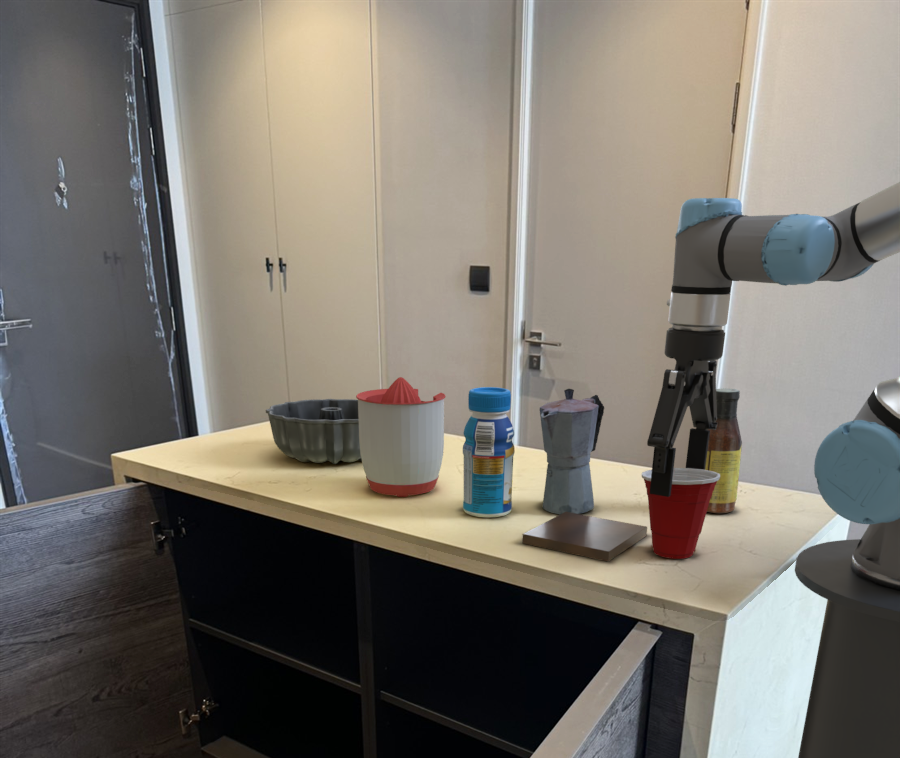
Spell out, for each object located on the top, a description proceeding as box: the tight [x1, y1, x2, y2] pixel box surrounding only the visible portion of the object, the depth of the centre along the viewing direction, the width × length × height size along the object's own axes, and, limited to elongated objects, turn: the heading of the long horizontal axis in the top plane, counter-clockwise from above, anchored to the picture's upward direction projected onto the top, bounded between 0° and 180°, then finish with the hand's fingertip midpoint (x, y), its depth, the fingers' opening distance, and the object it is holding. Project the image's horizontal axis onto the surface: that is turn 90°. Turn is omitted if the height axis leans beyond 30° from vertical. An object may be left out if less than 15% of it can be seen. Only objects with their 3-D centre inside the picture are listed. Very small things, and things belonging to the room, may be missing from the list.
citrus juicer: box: [355, 376, 446, 498], centre depth 154 cm, size 16×17×20 cm
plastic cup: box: [641, 467, 720, 560], centre depth 123 cm, size 11×11×12 cm
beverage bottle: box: [462, 386, 515, 519], centre depth 140 cm, size 8×8×20 cm
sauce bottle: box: [705, 387, 743, 514], centre depth 142 cm, size 7×6×20 cm
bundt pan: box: [265, 398, 362, 465], centre depth 179 cm, size 26×26×10 cm
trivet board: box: [521, 512, 648, 562], centre depth 131 cm, size 14×14×2 cm
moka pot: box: [539, 388, 605, 515], centre depth 143 cm, size 10×15×20 cm, turn 137°
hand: (677, 484), depth 122 cm, fingers open, 13 cm apart
